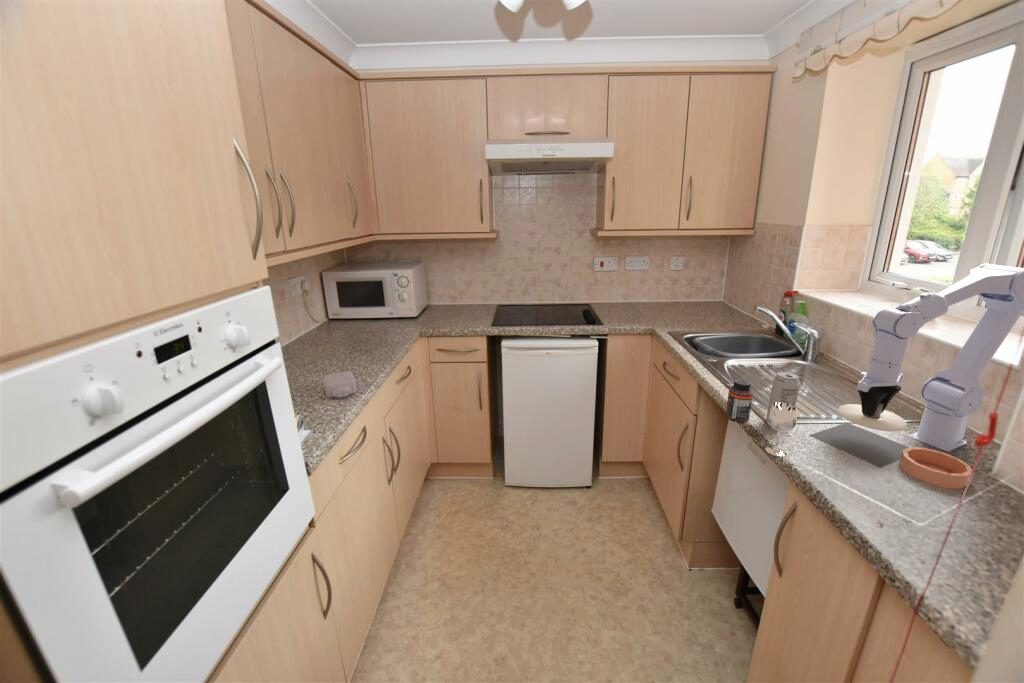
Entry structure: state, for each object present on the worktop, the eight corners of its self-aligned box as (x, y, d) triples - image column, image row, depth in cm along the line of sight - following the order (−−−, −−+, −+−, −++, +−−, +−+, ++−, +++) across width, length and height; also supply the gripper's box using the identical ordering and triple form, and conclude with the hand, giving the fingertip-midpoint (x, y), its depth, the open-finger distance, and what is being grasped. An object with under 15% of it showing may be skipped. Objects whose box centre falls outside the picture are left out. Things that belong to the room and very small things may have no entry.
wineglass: (780, 444, 109) (788, 401, 106) (795, 457, 104) (804, 411, 100) (757, 445, 109) (765, 401, 105) (771, 458, 103) (780, 412, 100)
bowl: (915, 456, 104) (919, 443, 103) (977, 481, 94) (982, 467, 93) (888, 467, 99) (892, 454, 98) (951, 495, 90) (956, 481, 89)
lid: (857, 402, 114) (860, 388, 113) (918, 424, 103) (922, 408, 102) (826, 412, 109) (829, 397, 108) (886, 435, 98) (891, 419, 97)
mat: (846, 424, 119) (846, 422, 119) (918, 452, 105) (919, 451, 105) (808, 436, 113) (809, 435, 112) (879, 469, 99) (880, 467, 99)
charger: (328, 405, 134) (324, 388, 147) (359, 399, 138) (353, 383, 151) (326, 391, 133) (322, 375, 145) (358, 386, 136) (351, 370, 149)
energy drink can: (782, 421, 121) (792, 370, 116) (795, 432, 115) (806, 379, 110) (760, 421, 121) (769, 370, 116) (772, 432, 115) (782, 379, 111)
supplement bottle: (723, 412, 126) (729, 376, 123) (746, 415, 124) (752, 378, 121) (726, 422, 121) (732, 384, 117) (750, 425, 119) (757, 386, 116)
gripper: (884, 350, 108) (871, 401, 112) (848, 359, 102) (836, 412, 106) (919, 359, 102) (904, 412, 106) (882, 369, 96) (868, 424, 100)
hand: (872, 413), depth 106 cm, fingers closed on lid, 3 cm apart
